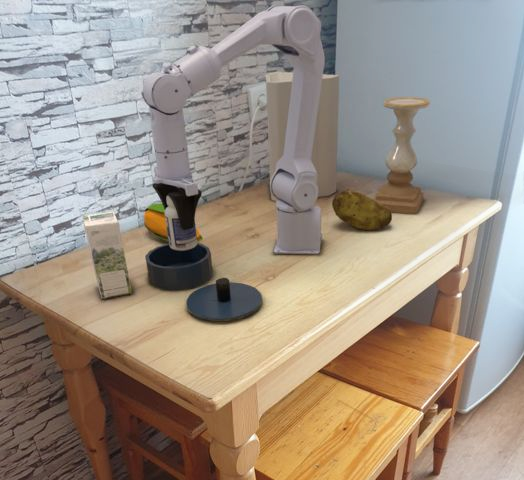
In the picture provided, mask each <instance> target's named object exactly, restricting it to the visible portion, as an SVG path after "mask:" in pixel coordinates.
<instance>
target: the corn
mask: <svg viewBox="0 0 524 480" xmlns="http://www.w3.org/2000/svg"><path fill="white" fill-rule="evenodd" d="M144 212H145V213H144V214H143V221H144V227H145V228H146V229H147V231H149V232H150V233H151V234H153V235H154V236H155V237H157V238H159V239H161V240H163V241H165V242H168V243H169V239H168V233H167V226H166V219H165V209H164V207H163V204H162V202H161V203H152V204H150V205H149V206H147V207H146V208H145V209H144ZM196 235H197V242H201V241H202V240H203V236H202V235H201V234H200V231H199V230H198V228H196Z"/></svg>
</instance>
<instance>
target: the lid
mask: <svg viewBox="0 0 524 480" xmlns="http://www.w3.org/2000/svg"><path fill="white" fill-rule="evenodd" d="M262 303H263V296H262V293H261V291H260V290H259V289H257V288H256V287H254V286H252V285H249V284H247V283H243V282H233V281H230V279H229V278H228V277H219V278H217V279H216V280H215V283H212V284H208V285H204V286H201V287H199V288H198V289H196V290H193V292H192V293H190V294H189V295H188V297H187V298H186V301H185V305H186V309H187V311H188V312H189V313H190V314H191V315H193V316H194V317H197V318H199V319H202V320H206V321H213V322H214V321H215V322H216V321H217V322H219V321H220V322H223V321H232V320H237V319H242V318H244V317H247V316H249V315H251V314H252V313H254V312H256V311H257V310H258V309H259V308H260V307H261V305H262Z"/></svg>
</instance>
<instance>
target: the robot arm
mask: <svg viewBox="0 0 524 480" xmlns="http://www.w3.org/2000/svg"><path fill="white" fill-rule="evenodd" d="M321 30H322V22H321V20H320V19H319V18H318V17H317V15H316V14H315V13H314V11H313V10H312V9H311V8H310V7H308V6H307V5H302V4H301V5H296V6H293V5H292V6H290V5H281V4H275V5H271V6H270V7H268V8H267V9H266V10H263V11H260V12H258V13H257V14H255V15H254V16H253V17H252V18H250V19H249V20H248V21H246V22H245V23H243V24H242V25H241V26H240V27H238V28H237V29H235V30H234V31H232V32H231V33H230V34H228V35H227V36H225V38H223V39H221V40H220V41H219V42H218V43H217V44H215V45H214V46H212V47H211V48H209V47H207V46H204V45H199V46H195V45H191V46H190V47H188V48H187V49H186V52H187V54H185V55H184V56H182V57H180V58H179V59H178V60H176V61H175V62H173V63H169V62H168V63H165V64H164V65H163V69H164V70H163V72H159V71H157V72H153V73H150V74H149V75H148V76H147V77H146V78H145V81H144V82H143V85H142V91H141V92H140V93H141V94H140V95H141V97H142V100H143V102H144V103H145V104H146V105H147V106H148V110H149V118H150V128H151V133H152V141H153V149H154V156H155V162H156V166H154V167H153V172H154V176H153V177H152V182H153V183H151V185H152V188H153V189H154V191H155V192H156V194H157V196H158V197H159V199H160V201H161V204H163V207H164V209H166V208H167V207H168V205H167V200H166V197H167V196H169V197H170V198H171V200H172V202H173V204H174V206H175V208H176V211H177V215H178V219H179V223H180V226H181V228H182V230H187V229H191V228H193V226H194V219H195V218H196V213H197V212H196V211H197V206H198V204H199V201H200V199H201V197H202V190H201V189H199V187H198V186H199V185H198V183H197V182H196V181H195V179H194V177H193V174H192V172H191V168H190V167H191V166H190V158H189V150H188V149H189V148H188V140H187V131H186V123H185V117H184V108H185V106H186V105H187V101H188V99H191V98H193V97H194V96H195V95H197V94H198V93H200V92H202V90H204V89H206V88H207V87H208V86H210V85H211V84H213V83H215V82H216V81H218V80H219V79H220V76H221V71H222V68H223V67H224V66H226V65H228V64H230V63H231V62H233V61H235V60H237V59H238V58H240V57H242V56H243V55H245V54H247V53H249V52H250V51H251V50H254V49H255V48H257V47H259V46H261V45H270V46H272V47H273V48H275V49H276V50H278V51H279V52H281V53H282V54H283V55H284V57H285V58H286V59H287V60H288V62H289V63H290V64H291V65H292V68H293V71H292V73H293V79H292V87H291V96H290V104H289V112H288V121H287V129H286V138H285V146H284V154H283V156H282V158H281V159H280V160H279V161H278V162H277V163H276V170H275V172H274V174H273V176H272V178H271V181H270V180H269V191H270V190H271V191H270V194H271V193H272V195H273V196H274V197H276V201H275V205H276V207H275V208H276V209H275V210H276V211H275V212H276V236H277V237H276V238H277V239H276V243H275V246H274V249H273V254H275V255H277V254H282V255H319V254H320V251H321V245H322V242H323V232H322V206H321V205H320V206H319V205H315V204H316V202H317V199H318V198H319V197H318V187H317V183H316V177H317V172H316V169H315V167H314V165H313V163H312V161H311V155H312V147H313V140H314V133H315V126H316V119H317V112H318V105H319V98H320V91H321V84H322V77H323V74H324V69H325V64H326V63H325V62H326V57H325V56H326V55H325V52H324V48H323V43H322V37H321ZM195 220H196V219H195Z"/></svg>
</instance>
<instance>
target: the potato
mask: <svg viewBox="0 0 524 480" xmlns="http://www.w3.org/2000/svg"><path fill="white" fill-rule="evenodd" d="M331 206H332V209H333V212H334V213H335V215H336V216H337V217H338V219H339V220H341V221H342V222H344V223H346V224H349V225H351V226H352V227H354V228H356V229H358V230H362V231H363V230H364V231H373V230H378V229H382V228H386V227H387V226H389V225H390V224H391V223H392V221H393V212H391V210H390V209H389V208H388V207H386V206H385V205H383V204H381V203H379V202H377V201H374V200H373V199H372V198H371V197H369V196H367V195H365V194H363V193H362V192H359V191H358V190H351V189H347V190H344V191H341V192H339V193H337V195H334V197H333V199H332V202H331Z"/></svg>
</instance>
